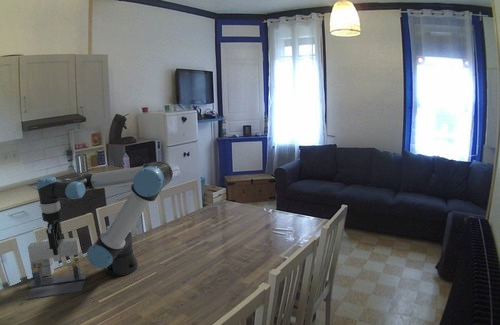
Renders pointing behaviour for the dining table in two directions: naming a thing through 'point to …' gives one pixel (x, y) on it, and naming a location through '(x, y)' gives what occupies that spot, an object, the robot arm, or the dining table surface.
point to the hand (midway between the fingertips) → (58, 258)
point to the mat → (55, 290)
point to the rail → (43, 252)
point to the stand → (58, 280)
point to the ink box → (43, 267)
